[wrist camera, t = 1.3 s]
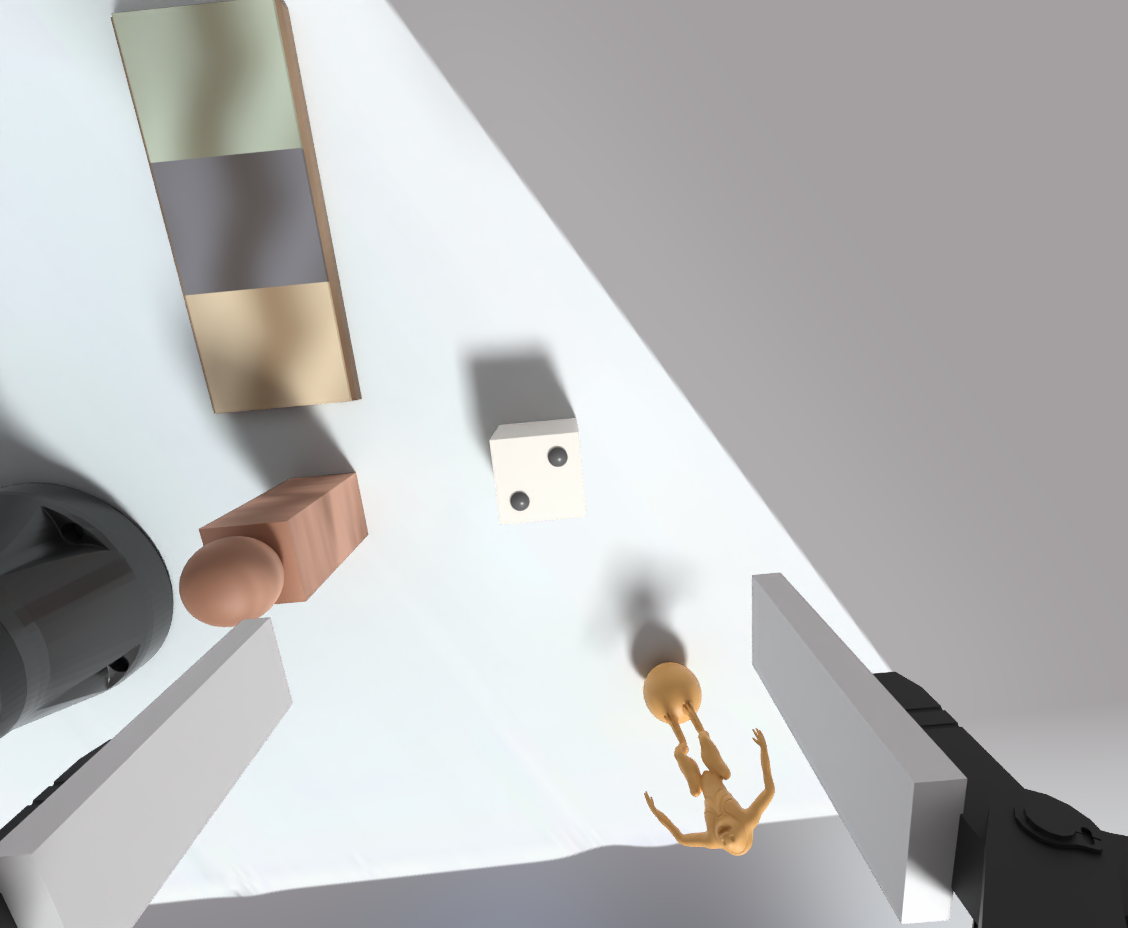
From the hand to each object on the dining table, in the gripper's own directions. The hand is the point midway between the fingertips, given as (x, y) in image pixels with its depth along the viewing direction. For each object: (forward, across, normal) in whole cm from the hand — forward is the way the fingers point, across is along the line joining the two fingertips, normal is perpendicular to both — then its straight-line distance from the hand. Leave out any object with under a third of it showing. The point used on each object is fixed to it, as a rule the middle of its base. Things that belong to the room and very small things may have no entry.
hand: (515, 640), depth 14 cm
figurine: (+21, +8, -18) cm, 29 cm away
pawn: (+21, -14, -2) cm, 25 cm away
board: (+21, -16, +16) cm, 30 cm away
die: (+21, 0, 0) cm, 21 cm away
